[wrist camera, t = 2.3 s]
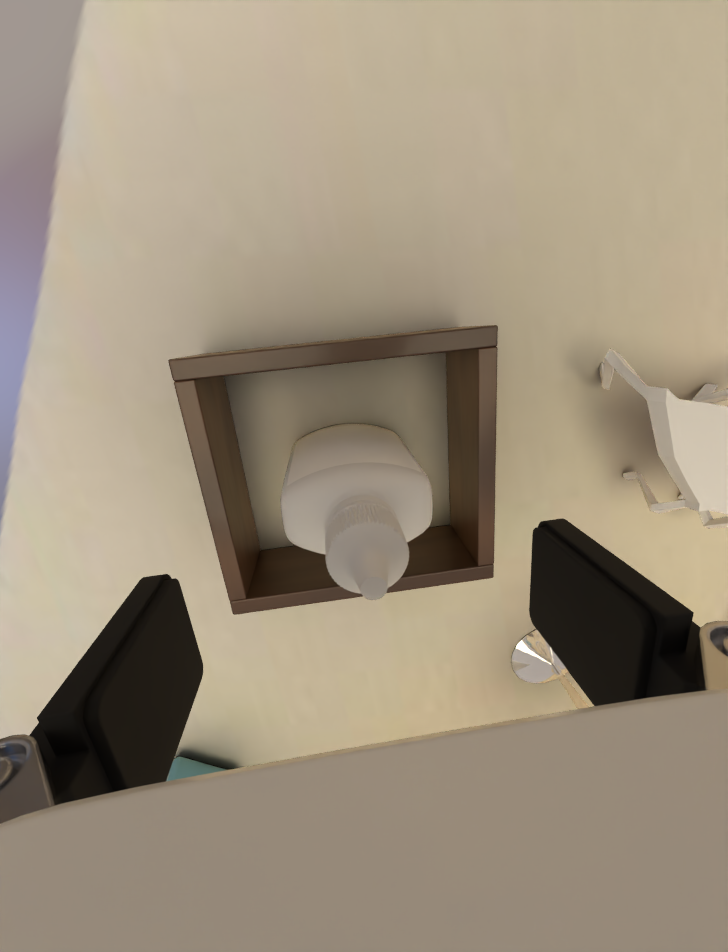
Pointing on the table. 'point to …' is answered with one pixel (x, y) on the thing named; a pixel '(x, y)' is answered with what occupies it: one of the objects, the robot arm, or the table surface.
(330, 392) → the table surface
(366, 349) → the square wooden box frame
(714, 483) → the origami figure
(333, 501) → the eye dropper bottle
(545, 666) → the wineglass
